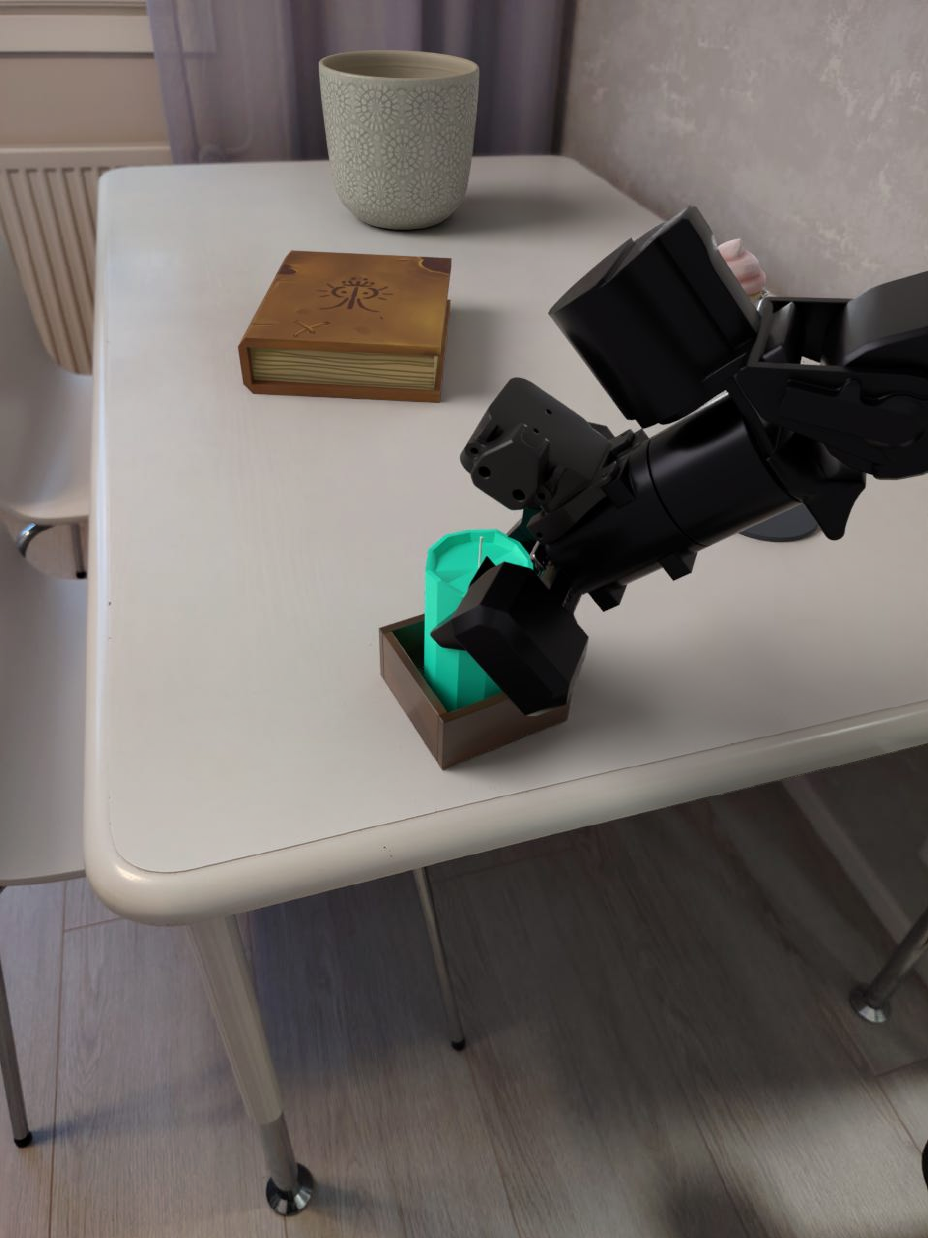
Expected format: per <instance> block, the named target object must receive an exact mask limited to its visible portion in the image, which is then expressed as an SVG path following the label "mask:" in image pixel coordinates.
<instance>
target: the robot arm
mask: <svg viewBox="0 0 928 1238" xmlns="http://www.w3.org/2000/svg"><path fill="white" fill-rule="evenodd" d="M700 211H701V210H700V209H699V208H698V207H697V206H695V205H687V206H686V207H685V208H683V209H682V210H680V212H678V213H677V214H676V215H675V216H673V217H672V218H670V219H669V220H668V221H664V222H661V223H660V224H658V225H656V226H654V227H653V228H651V229H650V230H648V231H647V232H645V233H643V234H642V235H641V236H639V237H638V238H636V239H634V238H633V236H632V237H630V238H628V239H626V241H625V242H623V243H622V244H620V245H619V246H618V247H616V248H615V249H614V250H613V251H612V252H611V253H609V254H608V255H607V256H605V257H604V258H602V260H600V261H599V262H598V263H597V264H596V265H595V266H594V267H592V268H591V269H590V270H589V271H587V273H585V274H584V275H583V276H582V277H581V278H580V279H578V280H577V281H576V282H575V283H574V284H573V285H572V286H571V287H570V288H569V289H568V290H567V291H566V292H565V293H563V295H561V297H559V298H558V299H557V301H555V302H554V304H553V305H552V306H551V307H550V309H549V310H548V312H547V315H548V316H549V318H551V320H552V321H553V322H554V324H555V326H557V328H558V329H559V331H560V332H561V333H562V335H563V336H564V338H565V339H566V340H567V341H568V343H569V344H570V346H571V347H572V348H573V349H574V351H575V352H576V354H577V355H578V356H579V357H580V359H581V360H582V362H583V363H584V365H585V366H586V367H587V369H589V372H591V374H592V375H593V377H594V378H595V379H596V380H597V383H599V385H600V386H601V387H602V389H603V390H604V391H605V393H606V394H607V395H608V397H609V398H610V400H611V401H612V402H613V404H614V405H615V406H616V408H617V409H618V411H619V412H620V413H621V415H622V416H623V417H624V418H625V419H626V420H627V421H635V422H636V423H637V424H638V426H639V427H640V429H638V430H636V431H634V430H633V429H632V428H628V429H627V430H625V431H623V432H622V433H620V434H618V435H616V436H615V435H614V433H613V432H612V431H611V429H610V428H609V427H608V425H606V424H601V423H597V422H590V421H588V420H586V419H585V418H584V417H583V416H582V415H580V414H579V413H577V412H576V411H574V410H573V409H572V408H570V407H569V406H567V405H566V404H564V403H563V402H562V401H559V400H558V399H557V398H556V397H554V396H552V395H551V394H550V393H548V392H547V391H545V390H544V389H542V388H541V387H539V386H538V385H537V384H535V383H534V382H532V381H531V380H529V379H527V378H524V377H519V376H517V377H516V376H515V377H511V378H510V379H509V380H508V381H507V382H506V384H505V385H504V386H503V387H502V389H501V390H500V392H498V394H497V396H495V398H494V399H493V401H492V402H491V403H490V405H489V406H488V408H487V409H486V411H485V413H484V414H483V416H482V417H481V419H480V421H479V423H478V424H477V425H476V428H475V429H474V431H473V433H472V434H471V436H470V438H469V439H468V441H467V443H466V444H465V446H464V448H463V449H462V451H461V452H460V454H459V462H460V464H461V466H462V468H463V469H464V470H465V472H467V473H468V474H469V476H470V479H471V483H472V484H473V486H474V487H475V488H477V489H478V490H479V491H481V492H483V493H484V494H485V495H487V496H489V497H490V498H492V499H493V500H494V501H496V502H497V503H499V504H500V505H502V506H503V507H505V508H506V509H508V510H509V511H522V515H521V517H520V519H519V520H518V521H516V523H515V524H514V525H513V526H512V527H511V528H510V529H509V530H508V531H507V532H506V533H505V534H506V535H508V537H509V538H512V539H515V540H516V541H518V542H520V543H521V545H522V546H523V547H524V549H525V550H526V551H527V553H528V554H529V555H530V560H531V562H532V563H533V570H532V568H528V567H525V566H521V565H517V564H513V563H509V562H505V561H504V562H502V563H500V564H498V565H497V566H496V565H495V564H494V563H493V562H492V561H491V559H490V558H489V557H488V556H486V557H485V559H484V560H483V562H482V564H481V565H480V567H479V569H478V570H477V572H476V574H475V575H474V577H473V579H472V580H471V582H470V584H469V586H468V590H467V593H466V594H465V596H464V598H463V599H462V601H461V603H460V604H459V606H458V608H457V609H456V611H454V612H453V613H452V614H450V615H449V616H448V617H447V618H445V619H444V620H443V621H442V622H440V623H439V624H438V625H437V626H436V627H435V628H433V629H432V631H431V633H430V636H431V637H432V638H433V640H434V641H435V642H436V643H437V644H438V645H439V646H440V647H442V648H448V649H455V650H462V651H467V652H468V654H469V655H470V656H471V657H472V658H473V659H474V660H475V661H476V662H477V664H478V665H479V666H480V667H481V668H482V669H483V670H484V671H485V672H486V673H487V675H488V676H489V677H490V678H491V679H492V680H493V681H494V682H495V683H496V685H497V686H498V687H499V688H500V689H501V690H502V691H503V692H504V693H505V695H506V696H507V697H508V698H509V699H510V700H511V701H512V702H513V703H514V705H515V706H516V707H517V708H518V709H519V710H520V711H521V712H522V713H523V715H524V716H537V715H540V714H543V713H545V712H548V711H551V710H553V709H556V708H559V707H561V706H564V705H566V704H567V702H568V699H569V697H570V694H571V692H572V693H573V690H574V686H575V684H576V682H577V679H578V677H579V674H580V671H581V670H582V667H583V664H584V661H585V659H586V655H587V651H588V646H589V645H588V644H589V638H590V637H589V635H588V634H587V633H586V631H584V629H583V627H581V626H580V625H579V623H578V620H577V618H576V615H575V612H576V610H577V607H578V605H579V603H580V601H581V598H582V596H583V595H586V594H588V595H589V597H590V598H591V599H592V600H593V602H594V603H595V604H596V605H597V607H599V609H600V610H601V612H602V613H604V612H607V611H609V610H612V609H614V608H616V607H618V606H620V605H621V602H622V599H623V597H624V595H625V592H626V589H627V586H628V585H629V584H632V583H633V582H635V581H637V580H640V579H642V578H644V577H647V576H648V575H651V574H653V573H655V572H657V571H659V570H662V569H663V570H664V571H665V573H666V574H667V575H668V576H669V578H670V579H671V580H672V582H674V581H677V580H679V579H681V578H683V577H686V576H688V575H690V574H692V572H693V570H694V566H695V563H696V559H697V556H698V552H700V551H702V550H704V549H707V548H710V547H711V546H713V545H715V544H717V543H720V542H722V541H724V540H726V539H728V538H731V537H732V536H735V535H737V534H740V533H739V532H741V531H744V530H746V529H748V528H750V527H752V526H754V525H757V524H759V523H761V522H763V521H765V520H767V519H770V518H772V517H774V516H776V515H778V514H780V513H783V512H785V511H787V510H789V509H791V508H793V507H796V506H798V505H800V504H803V505H804V506H805V507H806V509H807V510H808V512H809V513H810V514H811V516H812V517H813V519H814V520H815V522H816V523H817V525H818V528H819V529H820V531H821V532H822V534H823V535H824V536H825V537H826V538H827V539H828V540H830V541H834V542H836V541H839V540H841V539H843V537H844V536H845V534H846V533H845V532H846V528H847V524H848V521H849V517H850V515H851V512H852V509H853V507H854V505H855V503H856V501H857V500H858V498H859V497H860V496H861V494H862V493H863V492H864V491H865V489H866V487H867V477H868V475H871V476H872V478H874V479H876V480H878V481H900V480H906V479H911V478H916V477H920V476H924V475H928V270H926V271H922V272H918V273H915V274H912V275H908V276H905V277H900V278H897V279H894V280H890V281H887V282H884V283H881V284H878V285H876V286H873V287H871V288H869V289H868V290H866V291H864V292H862V293H861V294H859V295H858V296H856V297H855V298H849V297H848V298H845V297H844V298H843V297H837V298H836V297H809V296H807V297H805V296H773V295H772V296H770V295H769V296H768V295H767V297H765V298H763V299H762V300H761V301H760V302H759V305H758V308H757V309H756V307H755V306H754V304H753V303H752V301H751V300H750V298H749V297H748V295H747V293H746V292H745V290H744V289H743V287H742V286H741V284H740V283H739V281H738V280H737V278H736V277H735V275H734V274H733V272H732V270H731V269H730V267H729V266H728V264H727V263H726V261H725V260H724V258H723V257H722V255H721V253H720V251H719V249H718V244H717V241H716V238H715V234H714V232H713V231H712V228H711V227H710V224H708V222H707V220H706V219H705V217H704V216H703V214H702V213H701V212H700ZM803 358H805V359H808V360H811V361H813V362H815V363H818V364H805V363H802V359H803ZM724 392H725V393H724ZM722 393H724V394H723V395H721V396H719V395H720V394H722ZM718 396H719V397H718ZM716 397H717V398H716ZM715 398H716V399H715ZM713 399H714V400H713ZM712 400H713V401H712ZM707 403H708V404H707ZM658 424H659V425H660V426H667V425H669V426H667V427H666V428H664V429H662V430H661V431H659V432H657V433H656V434H653V435H652V436H650V437H649V436H648V435H647V433H646V431H644V430H645V429H649V428H651V427H653V426H656V425H658ZM572 689H573V690H572Z"/></svg>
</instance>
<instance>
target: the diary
mask: <svg viewBox="0 0 928 1238" xmlns="http://www.w3.org/2000/svg"><path fill="white" fill-rule="evenodd" d="M452 260H453V259H452V257H439V256H438V257H437V256H436V257H434V256H416V255H397V254H396V255H394V254H393V255H392V254H374V253H373V254H371V253H353V252H333V251H313V250H311V251H310V250H293V249H292V250H290V251H289V253H288V254H287V255H286V256H285V257H284V259H283V260H282V262H281V264H280V266H279V267H278V270H277V272H276V274H275V276H274V278H273V279H272V281H271V283H270V285H269V287H268V289H267V291H266V292H265V295H264V296H263V298H262V301H261V302H260V304H259V306H258V308H257V310H256V311H255V314H254V315H253V317H252V319H251V321H250V323H249V325H248V327H247V328H246V330H245V332H244V334H243V336H242V338H241V339H240V341H239V343H238V345H237V351H238V358H239V364H240V372H241V378H242V385H243V386H245V387H246V389H248V390H249V391H250V392H251V393H252V394H258V395H275V396H276V395H277V396H278V395H279V396H298V397H300V396H301V397H317V398H319V397H320V398H338V399H339V398H340V399H359V400H360V399H361V400H378V401H379V400H380V401H381V400H382V401H398V402H399V401H400V402H418V403H419V402H421V403H440V402H441V401H440V400H441V393H442V392H441V391H442V383H443V376H444V375H443V374H444V365H445V357H446V349H447V339H448V332H449V331H448V330H449V325H450V324H449V322H450V314H451V303H452V302H451V301H452V300H451V299H448V297H449V290H450V282H451V273H452V263H453V261H452Z"/></svg>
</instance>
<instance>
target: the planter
mask: <svg viewBox="0 0 928 1238" xmlns="http://www.w3.org/2000/svg"><path fill="white" fill-rule="evenodd" d="M318 75H319V76H318V77H319V88H320V98H321V99H320V101H321V107H322V117H323V123H324V124H323V125H324V131H325V139H326V147H327V148H326V149H327V153H328V160H329V166H330V167H329V168H330V172H331V176H332V181H333V186H334V189H335V192H336V194H337V196H338V199H339V200H340V202H341V203H342V205H343V206H344V207H345V208H346V209H347V210H348V211H349V212H350V213H351V214H352V216H354V217H356V218H357V219H358V220H360V221H361V222H363V223H365V224H368V225H369V226H373V227H376V228H381V229H389V230H407V231H408V230H419V229H425V228H430V227H433V226H436V225H439V224H440V223H442V222H444V221H445V220H447V219H448V218H449V217H450V216H451V215H452V214H454V213H455V211H456V210H457V209H458V208H459V207H460V205H461V204H462V202H463V200H464V197H465V195H466V193H467V190H468V186H469V179H470V174H471V169H472V160H473V154H474V153H473V151H474V143H475V142H474V141H475V133H476V126H477V125H476V123H477V114H478V103H479V102H478V101H479V88H480V87H479V86H480V66H479V65H478V64H477V63H476V62H474V61H472V60H470V59H466V58H463V57H460V56H455V55H450V54H446V53H445V54H444V53H438V52H429V51H418V50H402V49H401V50H400V49H399V50H398V49H372V50H356V51H355V50H354V51H346V52H339V53H334V54H331V55H328V56H325V57H323V58H321V59H320V60H319V61H318ZM444 219H445V220H444Z"/></svg>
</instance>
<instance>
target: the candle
mask: <svg viewBox="0 0 928 1238" xmlns="http://www.w3.org/2000/svg"><path fill="white" fill-rule="evenodd" d="M486 556H488V557H489V558H490V559H491V561H492V562H493V563H494V564H495V565H496V566H497V565H498V564H500V563H502V562H504V561H505V562H509V563H513V564H517V565H521V566H525V567H528V568H532V570H533V563H532V562H531V560H530V555H529V554H528V553H527V551H526V550H525V549H524V547H523V546H522V545H521V543H520V542H518V541H516V540H515V539H512V538H509V537H508V535H506V533H504V532H503V531H502V530H499V529H497V528H479V529H477V528H475V529H473V528H471V529H466V530H465V529H464V530H460V531H455V532H451V533H446V534H443V535H442V536H441V537H440V538H439V539H438V540H436V541H435V542H434V543H433V544H432V545H431V546H430V547H428V549H427V556H426V561H425V562H426V563H425V570H424V613H425V647H424V667H423V678H424V679H425V681H426V682H427V684H428V685H429V687H430V688H431V689H432V691H433V692H434V694H435V695H436V697H437V698H438V699H439V701H440V702H441V704H442V705H443V707H444V708H445V710H446V711H447V713H449V712H452V711H454V710H457V709H460V708H462V707H465V706H468V705H470V704H473V703H476V702H479V701H481V700H484V699H487V698H489V697H492V696H495V695H497V694H500V693H503V691H502V690H501V689H500V688H499V687H498V686H497V685H496V683H495V682H494V681H493V680H492V679H491V678H490V677H489V676H488V675H487V673H486V672H485V671H484V670H483V669H482V668H481V667H480V666H479V665H478V664H477V662H476V661H475V660H474V659H473V658H472V657H471V656H470V655H469V654H468V652H467V651H462V650H455V649H448V648H442V647H440V646H439V645H438V644H437V643H436V642H435V641H434V640H433V638H432V637H431V636H430V633H431V631H432V629H433V628H435V627H436V626H437V625H438V624H439V623H440V622H442V621H443V620H444V619H445V618H447V617H448V616H449V615H450V614H452V613H453V612H454V611H456V609H457V608H458V606H459V604H460V603H461V601H462V599H463V598H464V596H465V594H466V593H467V590H468V586H469V584H470V582H471V580H472V579H473V577H474V575H475V574H476V572H477V570H478V569H479V567H480V565H481V564H482V562H483V560H484V559H485V557H486Z"/></svg>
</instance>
